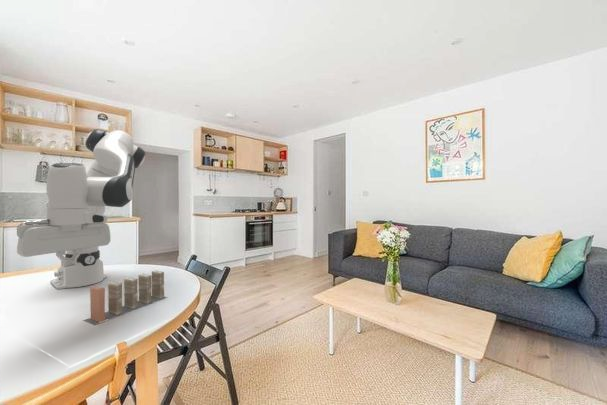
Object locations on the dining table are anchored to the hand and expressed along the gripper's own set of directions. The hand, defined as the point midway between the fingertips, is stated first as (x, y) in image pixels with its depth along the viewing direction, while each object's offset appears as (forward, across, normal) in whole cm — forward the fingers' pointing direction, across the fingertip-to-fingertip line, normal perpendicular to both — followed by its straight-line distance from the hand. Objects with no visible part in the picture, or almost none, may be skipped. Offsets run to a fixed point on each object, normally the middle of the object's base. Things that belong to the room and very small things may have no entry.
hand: (69, 265), depth 74 cm
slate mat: (+19, +16, 0) cm, 25 cm away
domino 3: (+19, +22, 0) cm, 29 cm away
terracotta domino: (+19, +7, 0) cm, 20 cm away
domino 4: (+19, +27, 0) cm, 33 cm away
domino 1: (+19, +12, 0) cm, 22 cm away
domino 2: (+19, +17, 0) cm, 25 cm away
